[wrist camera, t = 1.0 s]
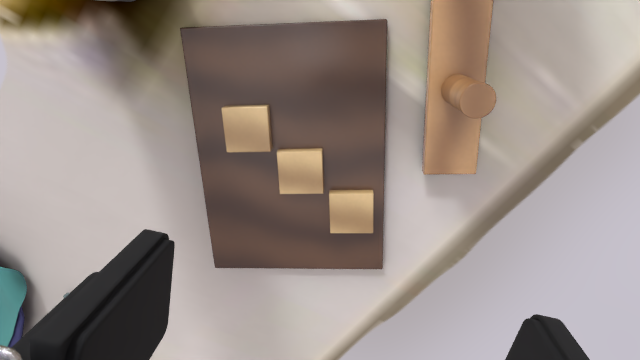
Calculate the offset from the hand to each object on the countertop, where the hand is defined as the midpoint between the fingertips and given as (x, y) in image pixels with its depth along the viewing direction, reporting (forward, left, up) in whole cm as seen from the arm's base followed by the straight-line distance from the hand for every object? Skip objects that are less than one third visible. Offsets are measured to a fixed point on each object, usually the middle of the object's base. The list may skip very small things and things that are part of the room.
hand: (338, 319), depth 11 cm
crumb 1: (+1, -9, -26) cm, 27 cm away
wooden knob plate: (-2, +9, -27) cm, 28 cm away
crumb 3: (+9, 0, -26) cm, 27 cm away
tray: (+4, -5, -27) cm, 28 cm away
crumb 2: (+5, -4, -26) cm, 27 cm away
